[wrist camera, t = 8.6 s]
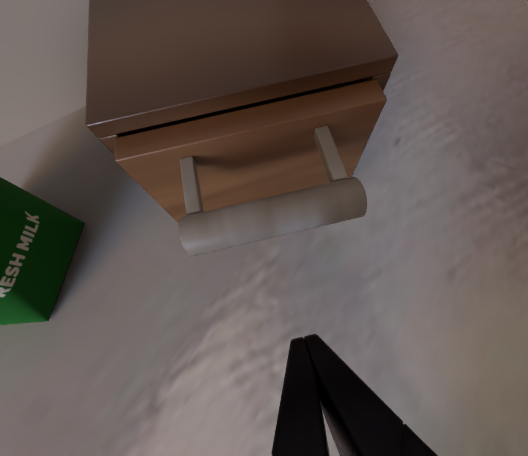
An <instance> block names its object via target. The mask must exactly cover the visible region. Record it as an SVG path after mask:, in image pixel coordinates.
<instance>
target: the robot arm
mask: <svg viewBox="0 0 528 456" xmlns="http://www.w3.org/2000/svg"><path fill="white" fill-rule="evenodd" d="M321 407H322V408H321ZM322 410H323V413H324V416H325V419H326V421H327V424H328V427H329V429H330V432H331V434H332V437H333V439H334V442H335V444H336V447H337V449H338V452H339V454H340V456H438V455H437V454H436V453H435V452H434V451H432V450H431V449H430V448H429V447H428V446H427V445H426V444H425V443H424V442H423V441H422V440H421V439H420V438H419V437H418V436H417V435H416V434H415V433H414V432H413V431H412V430H411V429H410V428H409V427H408V426H407V425H406V424H403V421H402V420H401V419H400V418H399V417H398V416H397V415H396V414H395V413H394V412H393V411H392V410H391V409H390V408H389V407H388V406H387V405H386V404H385V403H384V402H383V401H382V400H381V399H380V398H379V397H378V396H377V395H376V394H375V393H374V392H373V391H372V390H371V389H370V388H369V387H368V386H367V385H366V384H365V383H364V382H363V381H362V380H361V379H360V378H359V377H358V376H357V375H356V374H355V373H354V372H353V371H352V370H351V369H350V368H349V367H348V366H347V365H346V363H345V362H344V361H343V360H342V359H341V358H340V357H339V356H338V355H337V354H336V353H335V352H334V351H333V350H332V349H331V348H330V347H329V346H328V345H327V344H326V343H325V342H324V341H323V340H322V339H321V338H320V337H319V336H318V335H316V334H312V335H308V336H305V337H304V338H303V337H300V338H295V339H292V340H291V343H290V349H289V354H288V360H287V366H286V372H285V378H284V384H283V389H282V395H281V401H280V407H279V413H278V419H277V425H276V430H275V436H274V442H273V448H272V456H330V455H329V448H328V442H327V436H326V430H325V424H324V419H323V413H322Z"/></svg>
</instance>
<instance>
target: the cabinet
mask: <svg viewBox="0 0 528 456" xmlns="http://www.w3.org/2000/svg"><path fill="white" fill-rule="evenodd" d="M88 26H89V27H88V59H87V94H86V126H87V127H88V128H89V129H90V130H91V131H92V132H93V133H94V134H95V135H96V136H97V137H98V138H99V140H100V141H101V142H102V143H103V144H104V145H105V146H106V147H107V148H108V149H109V150H110V151H111V152H112V153H113V154H114V155H115V138H118V137H122V136H126V135H131V134H135V133H140V132H144V130H143V128H146V127H150V126H154V125H159V124H163V123H168V122H172V121H177V120H181V119H186V118H190V117H194V116H199V115H203V114H208V113H212V112H217V111H221V110H225V109H230V108H234V107H239V106H243V105H248V104H252V103H256V102H261V101H265V100H270V99H274V98H279V97H283V96H288V95H292V94H296V93H301V92H305V91H310V90H314V89H319V88H323V87H327V86H332V85H336V84H341V83H344V86H348V85H353V84H357V83H361V82H366V81H370V80H375V79H376V80H377V81H378V83H379V85H380V87H381V89H382V91H384V88H385V86H386V84H387V81H388V79H389V77H390V74H391V71H392V69H393V67H394V64H395V62H396V60H397V57H398V53H397V52H396V50H395V48H394V47H393V45H392V43H391V41H390V40H389V38H388V36H387V34H386V33H385V31H384V29H383V28H382V26H381V24H380V22H379V21H378V19H377V17H376V16H375V14H374V12H373V10H372V9H371V7H370V5H369V3H368V2H367V0H89V25H88Z"/></svg>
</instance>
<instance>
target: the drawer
mask: <svg viewBox="0 0 528 456" xmlns="http://www.w3.org/2000/svg"><path fill="white" fill-rule="evenodd" d="M386 100H387V99H386V96H385V94H384V92H383V91H382V89H381V87H380V85H379V83H378V81H377V80H376V79H375V80H370V81H366V82H361V83H357V84H353V85H348V86H344V83H341V84H336V85H332V86H327V87H323V88H319V89H314V90H310V91H305V92H301V93H296V94H292V95H288V96H283V97H279V98H274V99H270V100H265V101H261V102H256V103H252V104H248V105H243V106H239V107H234V108H230V109H225V110H221V111H217V112H212V113H208V114H203V115H199V116H194V117H190V118H186V119H181V120H177V121H172V122H168V123H163V124H159V125H154V126H150V127H146V128H143V130H144V132H140V133H135V134H131V135H126V136H122V137H118V138H115V161H116V162H117V163H118V164H119V165H120V166H121V167H122V168H123V169H124V170H125V171H126V172H127V173H128V174H129V175H130V176H131V177H132V178H133V179H134V180H135V181H136V182H137V183H138V184H139V185H140V186H141V187H142V188H143V189H144V190H145V191H146V192H147V193H148V194H149V195H150V196H151V197H152V198H153V199H154V200H155V201H156V202H157V203H159V204H160V205H161V206H162V207H163V208H164V209H165V210H166V211H167V212H168V213H169V214H170V215H171V216H172V217H173V218H174V219H175V220H176V221H177V222H178V223H179V235H180V239H181V243H182V246H183V248H184V250H185V252H186V253H187V255H188V256H195V255H199V254H204V253H208V252H212V251H216V250H221V249H225V248H229V247H234V246H238V245H242V244H247V243H251V242H255V241H260V240H264V239H268V238H273V237H277V236H281V235H285V234H290V233H294V232H298V231H303V230H307V229H311V228H316V227H320V226H324V225H329V224H333V223H337V222H341V221H346V220H350V219H354V218H359V217H362V216H364V215H365V213H366V209H367V200H366V194H365V191H364V188H363V185H362V184H361V182H360V181H359V179H357V178H355V177H352V174H353V172H354V170H355V168H356V166H357V164H358V161H359V159H360V157H361V155H362V153H363V150H364V148H365V146H366V144H367V142H368V139H369V137H370V135H371V133H372V131H373V129H374V126H375V124H376V122H377V120H378V118H379V115H380V113H381V111H382V109H383V107H384V105H385V102H386ZM351 177H352V178H351Z"/></svg>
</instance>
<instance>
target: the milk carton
mask: <svg viewBox="0 0 528 456" xmlns="http://www.w3.org/2000/svg"><path fill="white" fill-rule="evenodd" d="M83 225H84V222H82V221H80V220H78V219H76V218H75V217H73V216H71V215H69V214H67V213H65V212H63V211H62V210H60V209H58V208H56V207H54V206H52V205H51V204H49V203H47V202H45V201H43V200H41V199H40V198H38V197H36V196H34V195H32V194H30V193H29V192H27V191H25V190H23V189H21V188H19V187H18V186H16V185H14V184H12V183H10V182H8V181H6V180H4V179H3V178H1V177H0V325H7V324H19V323H30V322H43V321H49V318H50V315H51V312H52V310H53V307H54V304H55V301H56V299H57V296H58V293H59V291H60V288H61V285H62V282H63V280H64V277H65V274H66V272H67V269H68V266H69V263H70V261H71V258H72V255H73V252H74V250H75V247H76V244H77V242H78V239H79V236H80V233H81V231H82V228H83Z"/></svg>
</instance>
